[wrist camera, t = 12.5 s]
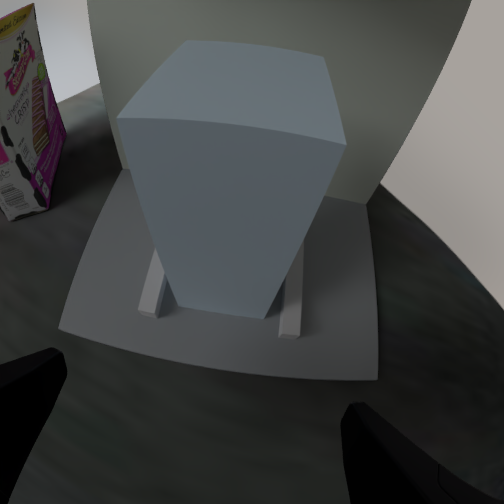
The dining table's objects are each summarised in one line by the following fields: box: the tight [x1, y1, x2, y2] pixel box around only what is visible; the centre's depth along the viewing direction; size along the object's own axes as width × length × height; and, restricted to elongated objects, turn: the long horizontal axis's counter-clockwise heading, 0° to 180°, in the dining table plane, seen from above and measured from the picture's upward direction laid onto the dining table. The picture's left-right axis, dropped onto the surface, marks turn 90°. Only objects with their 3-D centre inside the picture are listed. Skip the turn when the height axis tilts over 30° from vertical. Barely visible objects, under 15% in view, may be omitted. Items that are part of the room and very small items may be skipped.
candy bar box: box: [0, 3, 67, 221], centre depth 14 cm, size 11×5×16 cm, turn 17°
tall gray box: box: [116, 40, 347, 319], centre depth 12 cm, size 6×5×12 cm
